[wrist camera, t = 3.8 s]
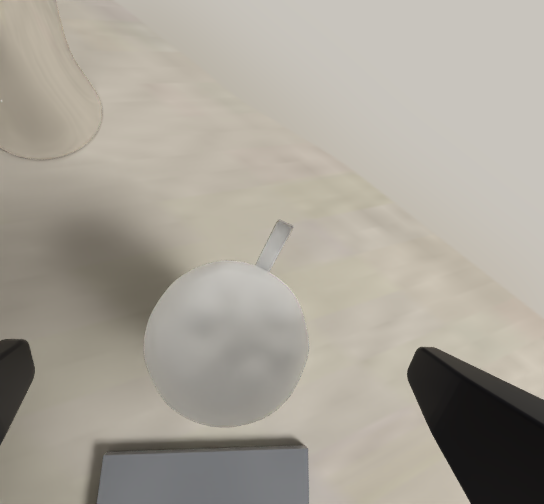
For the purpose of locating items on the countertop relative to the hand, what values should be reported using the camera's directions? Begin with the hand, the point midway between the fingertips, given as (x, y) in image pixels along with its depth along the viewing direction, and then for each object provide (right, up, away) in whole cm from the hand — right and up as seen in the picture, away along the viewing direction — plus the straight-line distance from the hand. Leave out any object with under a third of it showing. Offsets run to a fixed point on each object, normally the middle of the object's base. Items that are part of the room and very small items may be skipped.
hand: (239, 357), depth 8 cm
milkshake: (-2, -2, +9) cm, 10 cm away
